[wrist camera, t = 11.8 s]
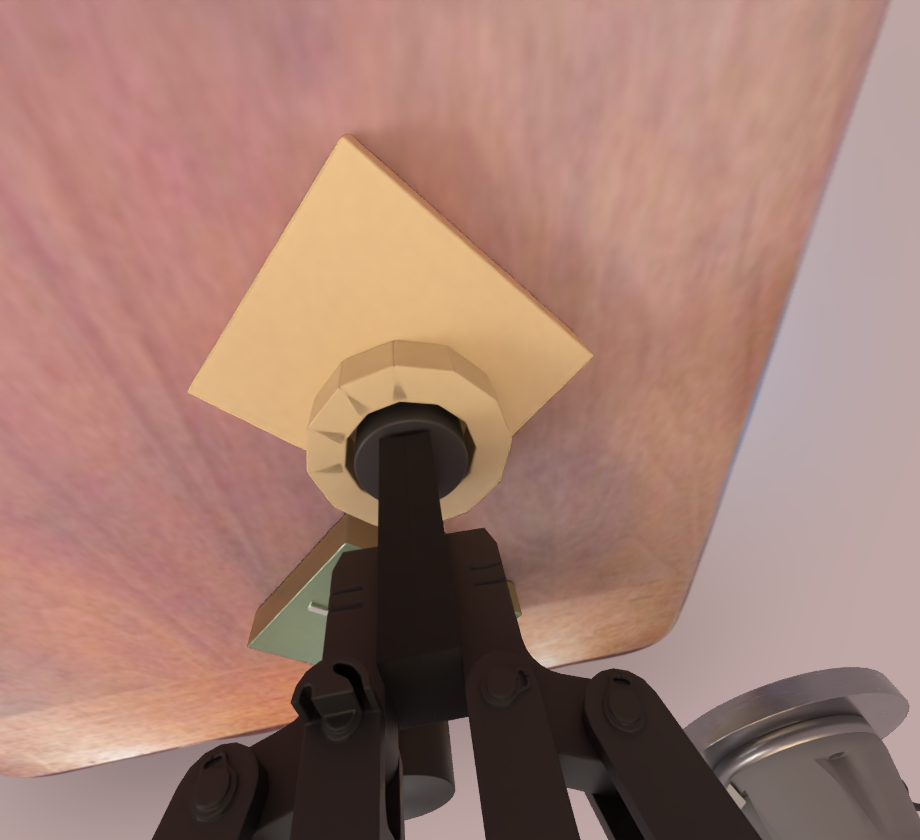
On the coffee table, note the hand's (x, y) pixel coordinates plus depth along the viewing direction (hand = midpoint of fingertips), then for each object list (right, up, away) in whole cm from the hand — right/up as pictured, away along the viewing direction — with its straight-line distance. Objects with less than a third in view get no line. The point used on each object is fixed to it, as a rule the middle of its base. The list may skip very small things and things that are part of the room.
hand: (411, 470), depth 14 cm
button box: (-1, +4, +3) cm, 5 cm away
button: (0, +1, +2) cm, 2 cm away
